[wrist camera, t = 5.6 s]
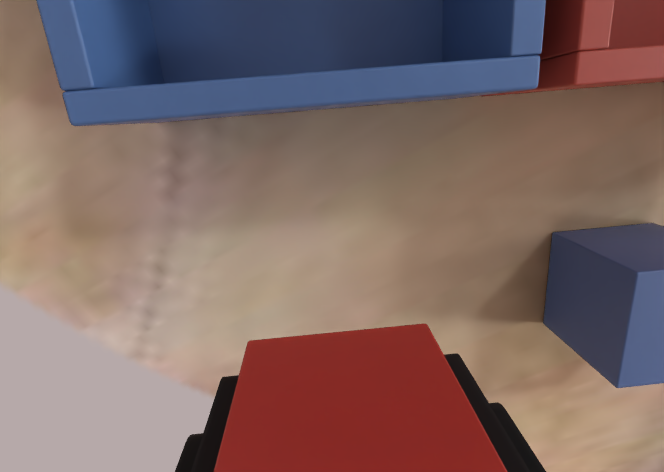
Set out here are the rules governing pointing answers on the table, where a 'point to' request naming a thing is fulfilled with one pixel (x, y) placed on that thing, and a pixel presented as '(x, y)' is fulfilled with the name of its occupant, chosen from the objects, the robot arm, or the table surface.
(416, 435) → the red block
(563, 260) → the blue block
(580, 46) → the red bin
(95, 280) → the table surface
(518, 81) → the blue bin
